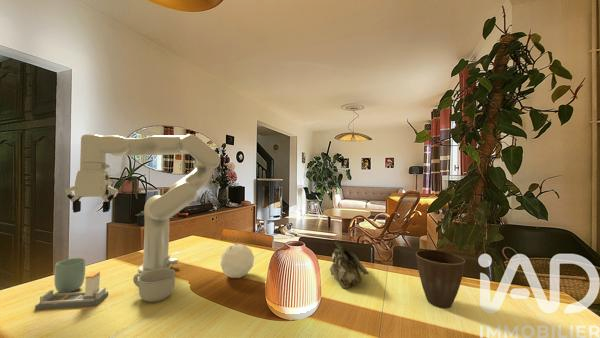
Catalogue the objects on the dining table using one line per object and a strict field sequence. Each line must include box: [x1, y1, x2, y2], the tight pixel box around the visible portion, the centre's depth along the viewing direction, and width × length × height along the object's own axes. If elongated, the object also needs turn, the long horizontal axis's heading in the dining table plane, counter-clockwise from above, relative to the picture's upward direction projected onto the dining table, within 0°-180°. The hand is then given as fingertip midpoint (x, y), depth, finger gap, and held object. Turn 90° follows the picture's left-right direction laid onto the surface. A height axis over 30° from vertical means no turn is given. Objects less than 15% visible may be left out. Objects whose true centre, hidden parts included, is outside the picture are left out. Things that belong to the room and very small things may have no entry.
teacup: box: [132, 268, 176, 303], centre depth 85 cm, size 14×11×8 cm
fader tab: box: [83, 271, 101, 299], centre depth 82 cm, size 3×4×7 cm
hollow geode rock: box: [329, 241, 370, 289], centre depth 108 cm, size 28×13×15 cm
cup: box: [53, 257, 87, 293], centre depth 88 cm, size 8×8×10 cm
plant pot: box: [415, 249, 466, 309], centre depth 87 cm, size 15×15×16 cm
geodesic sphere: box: [220, 242, 255, 279], centre depth 104 cm, size 14×14×14 cm
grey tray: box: [34, 287, 109, 311], centre depth 81 cm, size 16×7×3 cm, turn 102°
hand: (91, 211), depth 96 cm, fingers open, 9 cm apart
